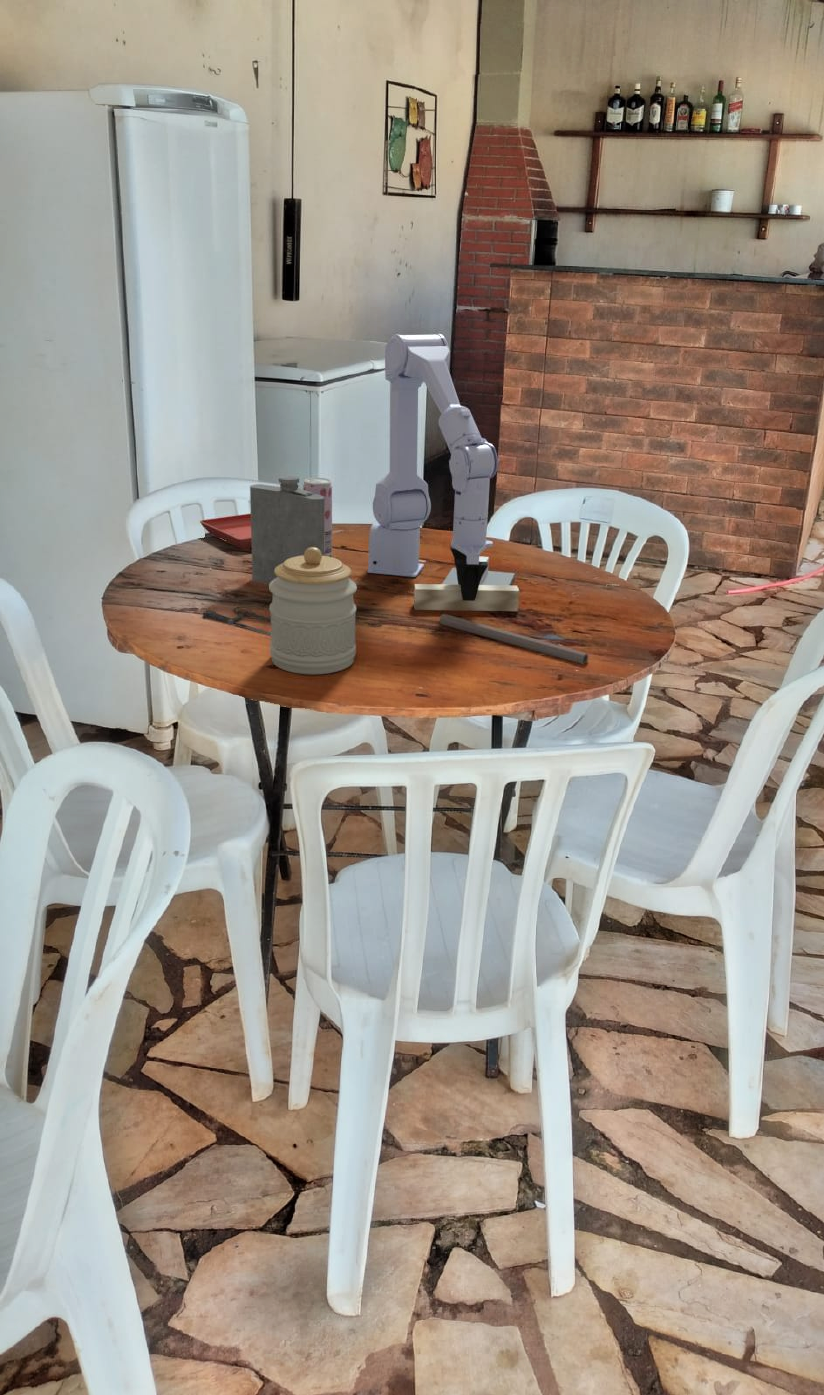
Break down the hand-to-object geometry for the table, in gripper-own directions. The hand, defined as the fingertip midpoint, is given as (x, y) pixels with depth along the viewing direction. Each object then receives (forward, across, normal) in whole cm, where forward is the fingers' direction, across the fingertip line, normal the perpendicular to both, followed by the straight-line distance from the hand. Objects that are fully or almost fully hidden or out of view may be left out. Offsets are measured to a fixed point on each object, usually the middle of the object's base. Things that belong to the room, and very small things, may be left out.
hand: (466, 593), depth 190 cm
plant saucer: (+3, +44, +40) cm, 59 cm away
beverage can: (+3, +31, +27) cm, 41 cm away
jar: (+3, -26, +26) cm, 37 cm away
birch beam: (+3, 0, 0) cm, 3 cm away
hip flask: (+3, +10, +31) cm, 33 cm away
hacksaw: (+3, -10, +33) cm, 34 cm away
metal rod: (+3, -17, -6) cm, 18 cm away
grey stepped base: (+3, +13, -3) cm, 13 cm away
